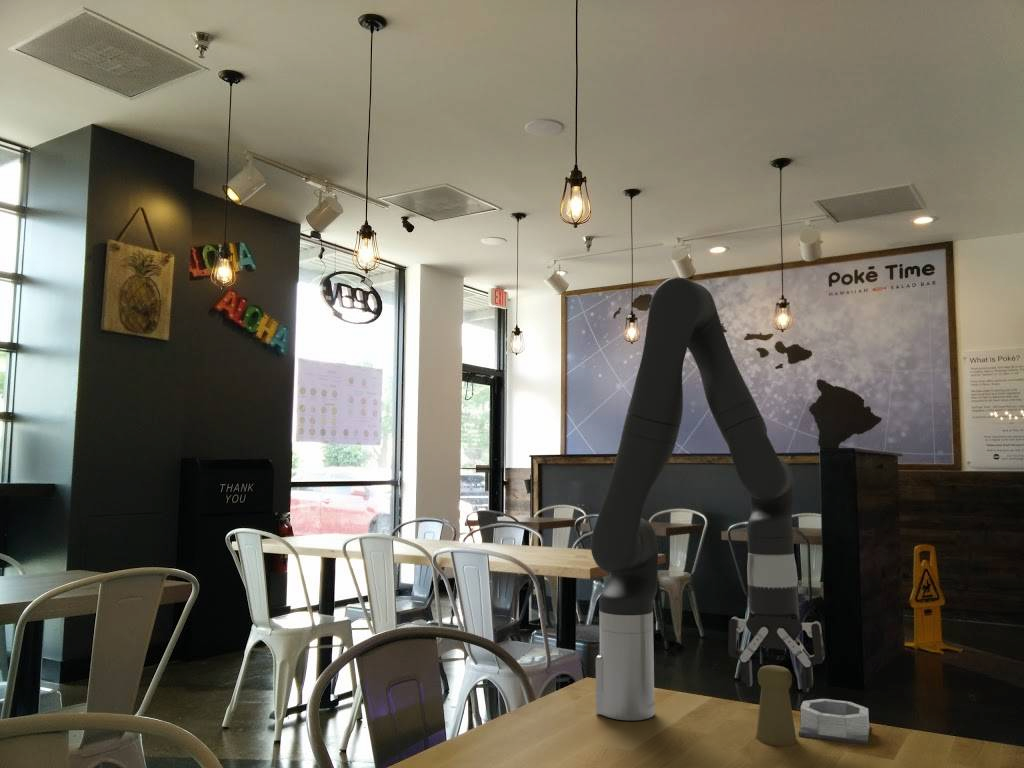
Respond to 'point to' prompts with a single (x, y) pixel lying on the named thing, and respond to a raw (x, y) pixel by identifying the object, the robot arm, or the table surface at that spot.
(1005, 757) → the table surface
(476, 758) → the table surface
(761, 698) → the cork
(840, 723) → the duct collar
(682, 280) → the robot arm
